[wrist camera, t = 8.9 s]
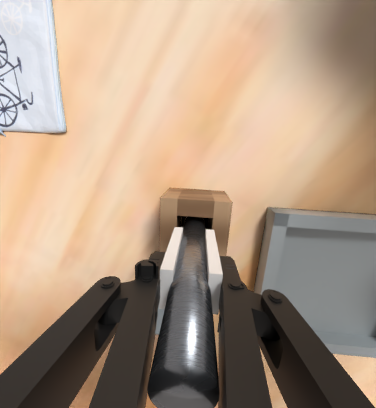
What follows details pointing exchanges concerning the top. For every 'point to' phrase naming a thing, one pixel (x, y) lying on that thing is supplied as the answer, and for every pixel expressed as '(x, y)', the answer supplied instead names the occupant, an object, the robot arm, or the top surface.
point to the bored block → (195, 213)
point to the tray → (324, 273)
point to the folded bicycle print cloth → (29, 68)
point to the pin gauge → (187, 332)
